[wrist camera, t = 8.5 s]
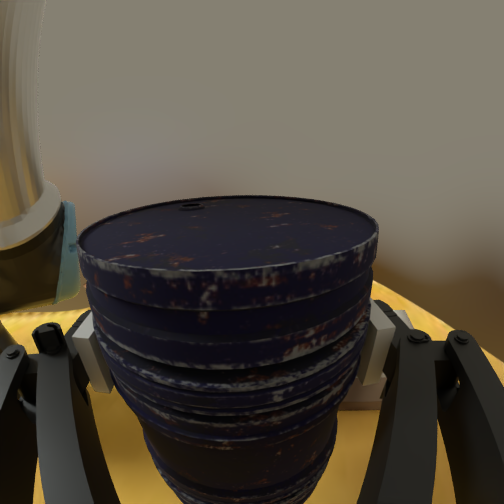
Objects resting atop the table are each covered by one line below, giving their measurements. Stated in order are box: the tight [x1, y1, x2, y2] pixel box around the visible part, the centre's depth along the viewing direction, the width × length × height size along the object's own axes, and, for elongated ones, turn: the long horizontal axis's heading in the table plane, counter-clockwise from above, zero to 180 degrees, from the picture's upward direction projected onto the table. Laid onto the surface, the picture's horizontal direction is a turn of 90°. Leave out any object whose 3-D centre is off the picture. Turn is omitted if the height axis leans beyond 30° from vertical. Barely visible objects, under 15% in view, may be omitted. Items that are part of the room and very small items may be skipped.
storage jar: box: [76, 195, 379, 504], centre depth 12 cm, size 10×10×15 cm
